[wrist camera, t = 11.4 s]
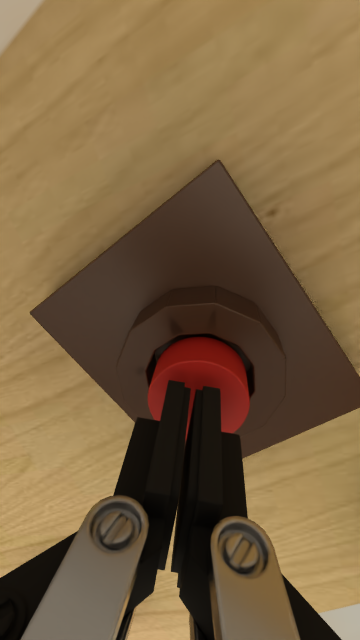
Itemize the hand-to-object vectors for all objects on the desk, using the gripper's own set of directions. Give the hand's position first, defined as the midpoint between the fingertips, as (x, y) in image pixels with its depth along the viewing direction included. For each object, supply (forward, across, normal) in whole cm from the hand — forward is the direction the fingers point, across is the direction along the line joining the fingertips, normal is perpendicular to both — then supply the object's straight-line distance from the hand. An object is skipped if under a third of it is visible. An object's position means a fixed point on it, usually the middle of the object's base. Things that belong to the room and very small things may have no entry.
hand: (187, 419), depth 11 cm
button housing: (+6, 0, 0) cm, 6 cm away
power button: (+3, 0, 0) cm, 3 cm away
